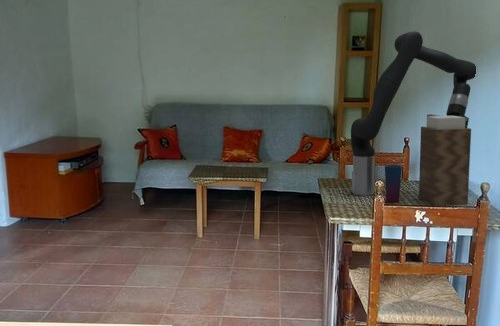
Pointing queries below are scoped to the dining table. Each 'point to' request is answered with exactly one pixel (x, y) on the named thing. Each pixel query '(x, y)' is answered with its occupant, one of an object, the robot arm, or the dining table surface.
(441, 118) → the caddy
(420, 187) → the cabinet
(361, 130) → the robot arm
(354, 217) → the dining table surface
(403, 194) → the dining table surface
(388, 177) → the cup
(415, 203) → the dining table surface
